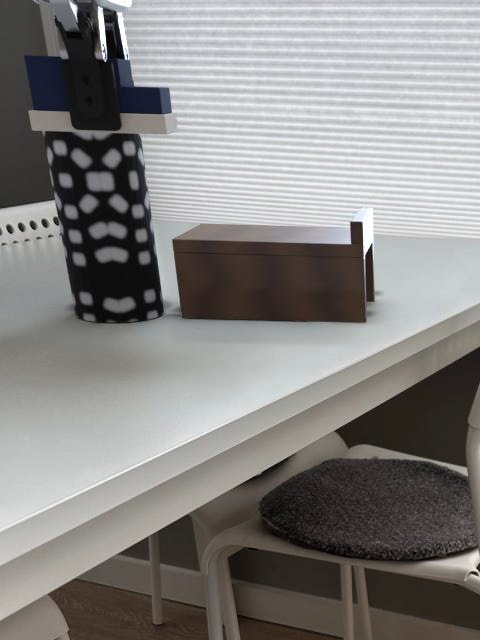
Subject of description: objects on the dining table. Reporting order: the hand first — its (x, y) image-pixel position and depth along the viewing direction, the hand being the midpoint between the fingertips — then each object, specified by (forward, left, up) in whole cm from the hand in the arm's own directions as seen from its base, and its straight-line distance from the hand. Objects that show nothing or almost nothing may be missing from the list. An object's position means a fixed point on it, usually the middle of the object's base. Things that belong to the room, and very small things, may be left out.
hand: (106, 125), depth 67 cm
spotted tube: (-8, +21, -17) cm, 29 cm away
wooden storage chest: (+7, +26, -17) cm, 32 cm away
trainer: (0, 0, 0) cm, 0 cm away
